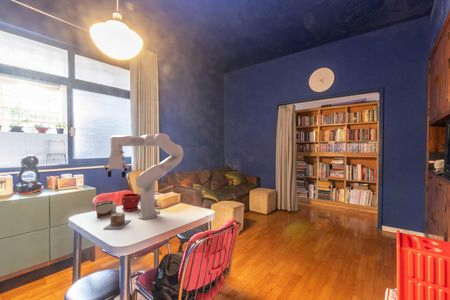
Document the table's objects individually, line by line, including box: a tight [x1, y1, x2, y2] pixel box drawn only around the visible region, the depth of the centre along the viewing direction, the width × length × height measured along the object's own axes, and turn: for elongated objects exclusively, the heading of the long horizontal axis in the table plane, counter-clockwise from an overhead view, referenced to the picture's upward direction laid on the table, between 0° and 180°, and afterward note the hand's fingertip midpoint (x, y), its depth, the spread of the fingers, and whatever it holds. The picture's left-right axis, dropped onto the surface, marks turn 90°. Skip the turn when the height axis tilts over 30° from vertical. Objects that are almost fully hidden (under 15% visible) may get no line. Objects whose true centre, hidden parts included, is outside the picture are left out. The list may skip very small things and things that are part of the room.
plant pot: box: [121, 193, 140, 212], centre depth 171 cm, size 13×13×12 cm
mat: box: [103, 219, 132, 230], centre depth 137 cm, size 10×15×1 cm, turn 1°
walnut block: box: [110, 212, 126, 226], centre depth 137 cm, size 6×6×6 cm
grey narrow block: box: [111, 202, 117, 215], centre depth 163 cm, size 6×6×7 cm
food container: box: [94, 200, 114, 219], centre depth 156 cm, size 12×6×10 cm, turn 146°
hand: (116, 177), depth 154 cm, fingers open, 9 cm apart
